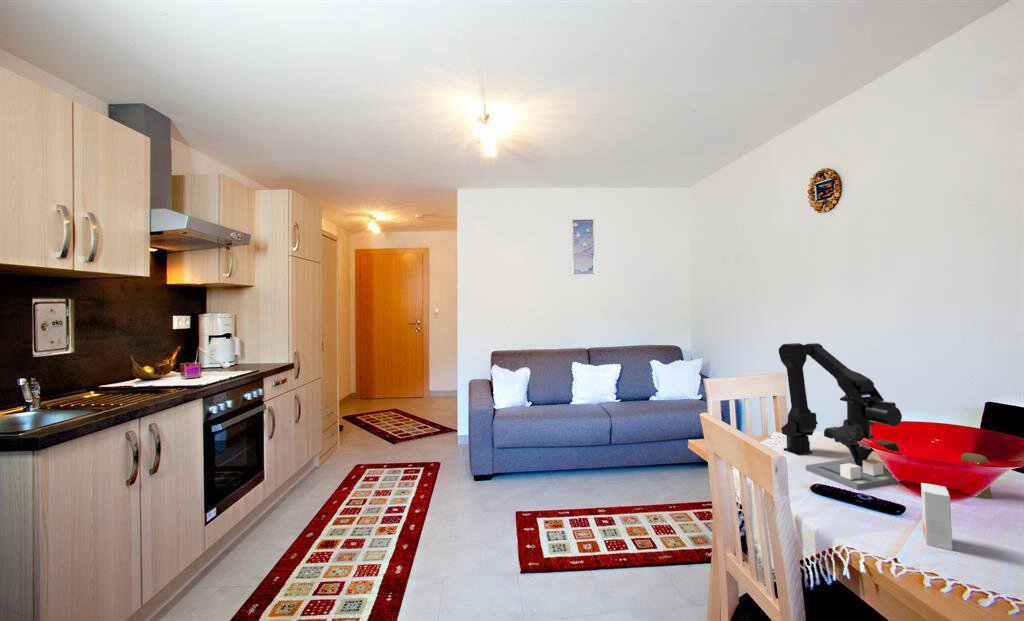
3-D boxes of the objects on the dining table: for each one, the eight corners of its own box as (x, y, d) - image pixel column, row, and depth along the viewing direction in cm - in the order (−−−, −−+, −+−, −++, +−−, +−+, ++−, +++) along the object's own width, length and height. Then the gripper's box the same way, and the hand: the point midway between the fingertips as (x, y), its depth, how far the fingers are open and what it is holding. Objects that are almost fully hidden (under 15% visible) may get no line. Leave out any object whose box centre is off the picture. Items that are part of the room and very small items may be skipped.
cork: (995, 500, 112) (994, 459, 112) (962, 495, 116) (961, 455, 116) (988, 492, 117) (987, 453, 117) (957, 487, 121) (956, 449, 121)
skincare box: (922, 533, 98) (920, 482, 98) (948, 539, 95) (946, 486, 95) (925, 544, 93) (923, 491, 93) (953, 551, 91) (951, 496, 91)
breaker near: (840, 476, 127) (840, 464, 127) (850, 474, 128) (850, 462, 128) (850, 479, 124) (850, 468, 124) (860, 478, 125) (860, 466, 125)
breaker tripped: (862, 472, 129) (862, 460, 129) (872, 470, 130) (872, 458, 130) (873, 475, 126) (873, 463, 126) (883, 474, 127) (883, 462, 127)
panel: (805, 469, 137) (805, 465, 137) (860, 460, 143) (860, 456, 143) (857, 489, 121) (856, 484, 121) (916, 478, 127) (916, 473, 127)
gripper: (810, 412, 139) (811, 459, 139) (871, 428, 121) (872, 482, 121) (836, 409, 142) (837, 455, 142) (900, 424, 123) (900, 477, 124)
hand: (859, 466), depth 132 cm, fingers closed
